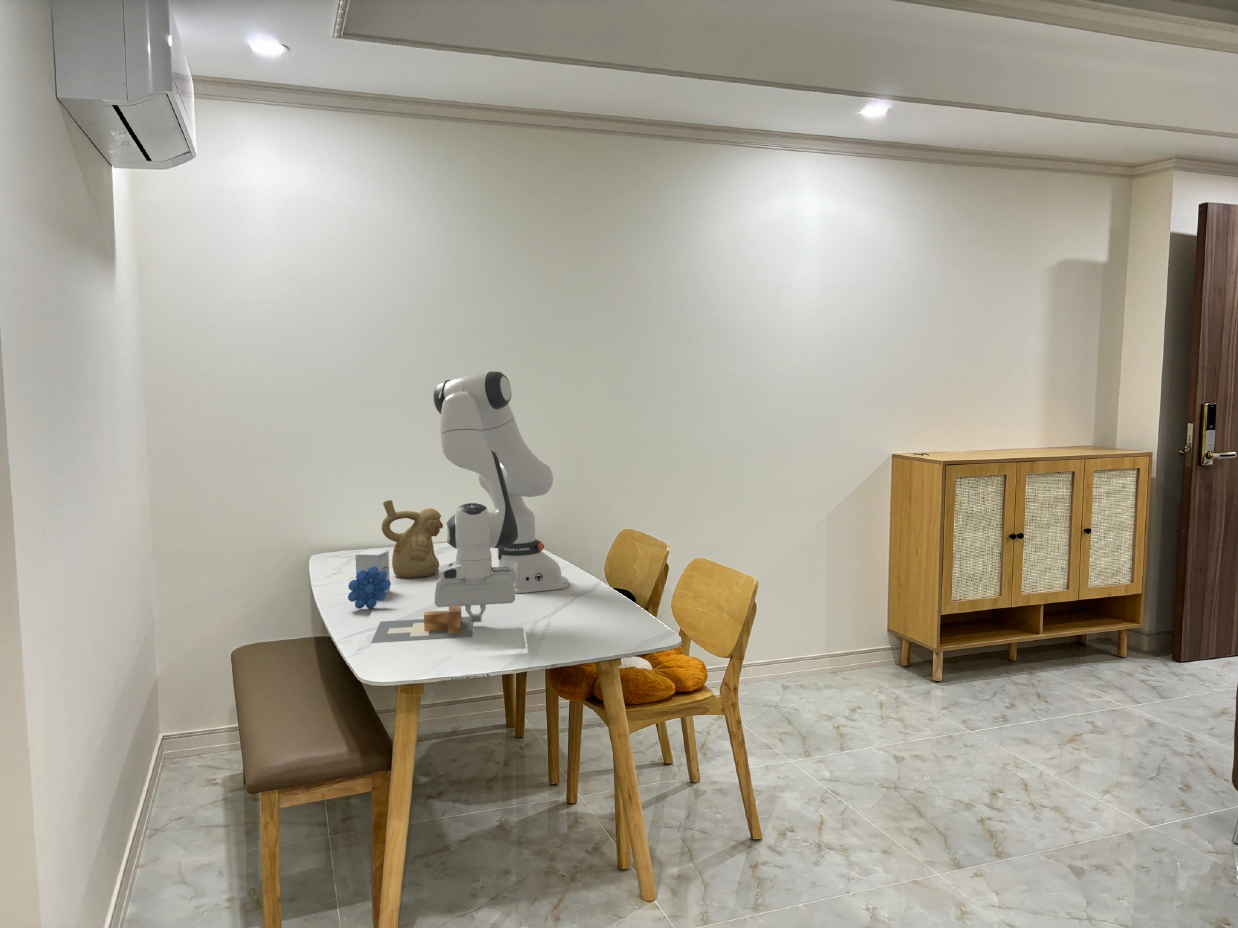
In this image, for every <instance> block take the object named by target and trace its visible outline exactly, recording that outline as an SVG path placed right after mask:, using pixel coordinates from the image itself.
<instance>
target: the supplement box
mask: <svg viewBox="0 0 1238 928" xmlns="http://www.w3.org/2000/svg"><path fill="white" fill-rule="evenodd" d="M372 566H376V567H377V568H378V572H379V571H381V570H385V571H387V574H388V575H387V578H386V579H385V580H389V581H390V580H391V579H390V551H389V550H385V549H367V550H366V549H365V550H364V551H362V552H359V553H356V554H355V575H356V574H357V572H359V571H360V570H365V571H366V572H367V571H368V569H369V568H370V567H372ZM390 582H391V581H390ZM384 591H385V592H386V593H389V592H390V591H391V587H390V588H389V589H387V590H384Z"/></svg>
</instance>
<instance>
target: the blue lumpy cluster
mask: <svg viewBox="0 0 1238 928" xmlns="http://www.w3.org/2000/svg"><path fill="white" fill-rule="evenodd" d="M387 575H388V574H387V571H385V570H381V571H379V572H378V568H377V567H376V566H372V567H370V568H369V569H368V571H367V572H366V571H365V570H360V571H359V572H357V574H356V573H355V579H352V580H351V581H350V582H349V583H348V590H350V592H349V593H348V595H347V599H348V601H350V602H353V603H354V607H355V608H356V609H358V610H359V609H363V608H364V607H366V608H367V609H368V610H370V609H373V608H375V607H376V606H377V603H378V602H383V601H384V600H386V598H387V592H385V591H384V590H387V589H389V588H390V589H391V585H392V583H391V581H389V580H385V579H386V578H387Z"/></svg>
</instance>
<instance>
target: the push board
mask: <svg viewBox="0 0 1238 928" xmlns="http://www.w3.org/2000/svg"><path fill="white" fill-rule="evenodd" d="M461 618H462V622H461V632H460V633H448V629H444V630H427V631H424V618H420V619H419V618H418V619H400V620H399V619H398V620H384V621H383V620H382V621H379V624H378V626H377V628H376V630H375V633H374V636H373V638H372V640H371V641H370V642H371V644H377V643H378V644H379V643H395V642H411V641H414V642H415V641H428V640H430V641H431V640H442V639H443V640H445V639H459V638H460V639H461V638H462V639H463V638H473V635H474V634H473V633H474V622H470V616H461Z"/></svg>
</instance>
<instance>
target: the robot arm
mask: <svg viewBox="0 0 1238 928" xmlns="http://www.w3.org/2000/svg"><path fill="white" fill-rule="evenodd" d="M511 399H512V388H511V383H510V380H509V379H508V377H507V375H505V374H504V373H502V372H501V371H488V372H481V373H480V372H478V373H472V374H467V375H464V376H460V377H456V378H453V379H447V380H444V381H442V382H440V383H438V384H437V385H436V387H435V389H434V391H433V402H434V403H433V404H434V406H435V408H436V411H437V412H438V413H439V414H440V440H441V441H440V442H441V448H442V452H443V455H444V457H445V458H446V459H447V460H448V461H449V462H450V463H452V464H453V465H455V466H456V467H458V468H461V469H464V470H468V471H471V472H474V473H476V474H478V481H479V485H480V486H481V487H482V488H483V490H484V491H485V492H486V493H487V495H489V497H490V500H491V501H492V503H493V506H494V510H492V511H488V508H487V506H486V505H483V504H481V503H477V502H469V503H464V504H461V505H459V506H458V508H457V509H456V513H455V514H453V515H452V516H451V517H450V518H449V519H448V520H447V522H446V525H447V541H446V543H447V544H449V546H451V547H452V548H454V549H455V550H456V549H457V552H456V556H455V557H456V558H455V561H453V562H450V563H447V564H444V565H442V566H441V567H439V568H438V579H437V581H436V584H435V592H434V605H435V606H436V607H437V608H449V607H455V606H461V607H465V611H466V613H467V616H468V615H469V616H470V622H473V623H482V622H483V621H482V620H483V619H482V616H483V614H484V612H485V611H486V610H487V609H486V606H487V605H501V604H513V603H514V602H515V600H516V594H524V593H534V592H535V593H536V592H543V591H545V592H546V591H554V590H563V589H567V588H568V587H569V583H570V582H569V579H568V578H567V577H566V576H563V574H562V571H561V567H560V564H559V562H557V561H556V560H555V559H553V558H552V557H550V556H549V555H548V554H546V553H545V552H544V551H543V550H544V549H545V544H544V543H543V542H542V541H541V540H538V539H536V519H535V514H534V512H533V511H532V510H531V509H530V508H529V507H528V506H527V505H526V503H525V502H524V499H523V498H524V497H526V498H534V497H535V498H536V497H540V496H544V495H547V493H548V492H549V491H550V490H551V488H552V486H553V481H554V475H553V470H552V469H551V468H550V466H549V465H548V464H546V463H545V462H543V461H542V460H541V459H539V458H538V457H537V456H536V455H535V454H534V453H533V451H532V450H531V449H530V448H529V447H528V445H527V443H526V442H525V440H524V439H523V436H522V435H521V432H520V430H519V426H518V424H517V422H516V419H515V416H514V414H513V413H514V412H513V411H512V408H511V406H510V404H509V403H510V401H511ZM493 548H494V549H497V551H496V553H497V558H498V566H495V567H494V566H493V561H492V559H493V558H492V552H491V549H493ZM472 606H479V609H480V611H479V613H473V612H472ZM469 616H468V617H469Z"/></svg>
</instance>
